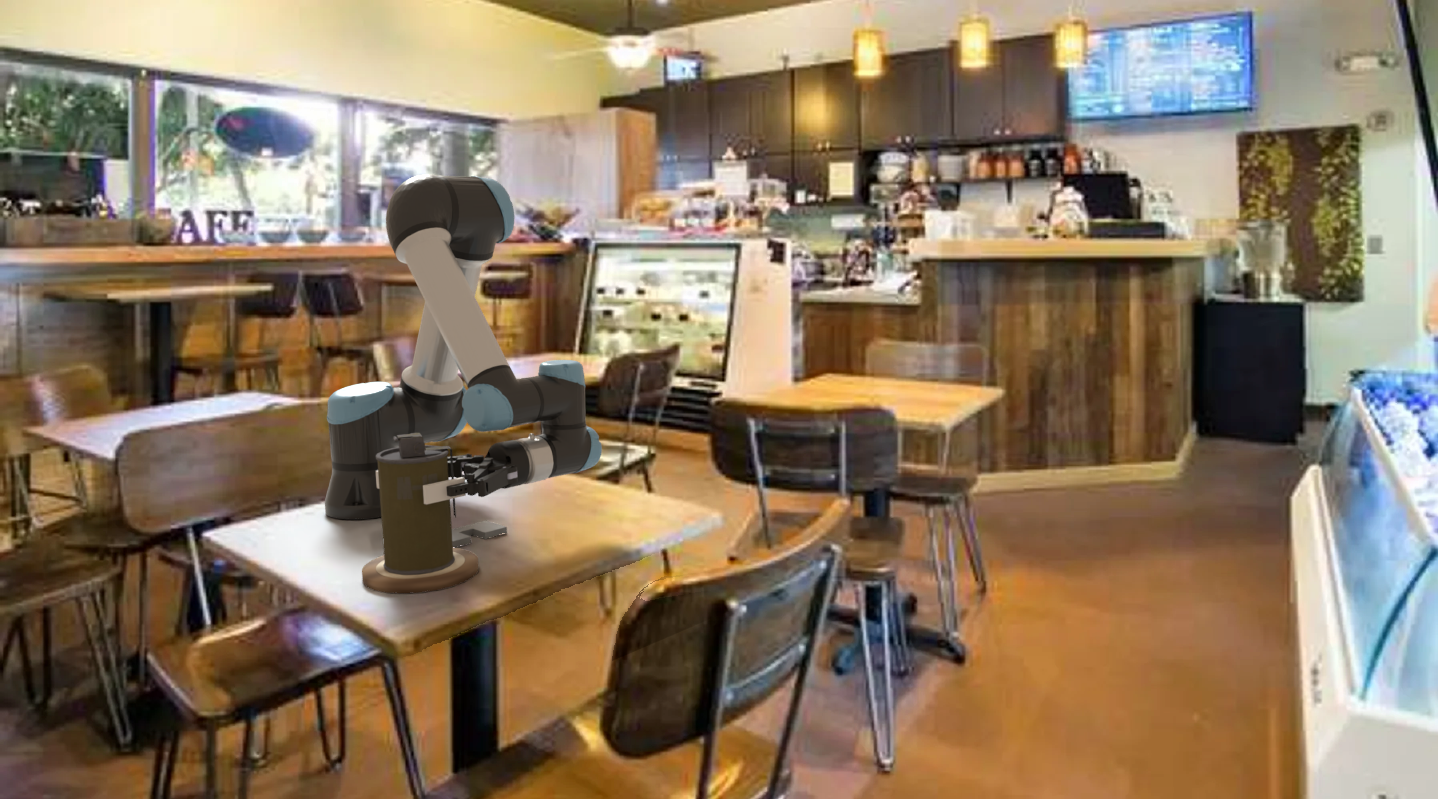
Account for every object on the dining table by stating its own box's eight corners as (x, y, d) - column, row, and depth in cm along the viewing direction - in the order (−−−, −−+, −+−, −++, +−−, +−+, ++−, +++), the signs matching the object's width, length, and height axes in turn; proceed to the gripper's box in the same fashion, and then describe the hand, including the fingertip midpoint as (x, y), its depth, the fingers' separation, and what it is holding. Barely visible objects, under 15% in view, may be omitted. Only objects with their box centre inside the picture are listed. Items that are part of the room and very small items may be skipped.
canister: (387, 579, 145) (377, 445, 142) (380, 558, 155) (371, 432, 151) (463, 568, 149) (455, 437, 146) (451, 549, 159) (444, 425, 156)
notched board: (428, 542, 168) (428, 535, 167) (486, 526, 176) (486, 520, 176) (448, 549, 164) (447, 542, 163) (507, 533, 172) (506, 526, 172)
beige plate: (341, 575, 152) (340, 565, 152) (439, 548, 164) (439, 539, 164) (400, 602, 140) (399, 591, 140) (500, 571, 153) (500, 561, 153)
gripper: (473, 430, 171) (357, 450, 156) (565, 450, 155) (444, 475, 139) (476, 472, 173) (360, 497, 157) (567, 497, 156) (447, 527, 141)
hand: (400, 487), depth 148 cm, fingers open, 13 cm apart
